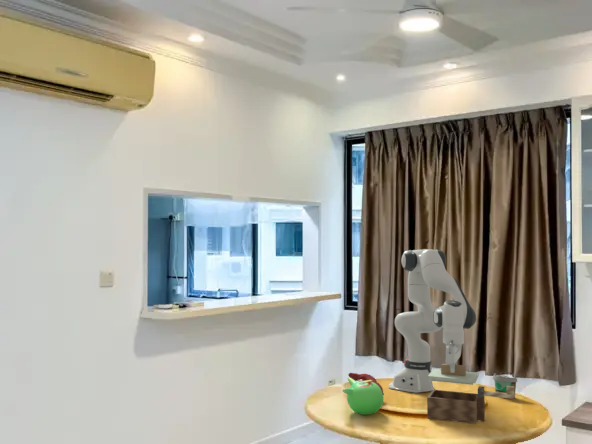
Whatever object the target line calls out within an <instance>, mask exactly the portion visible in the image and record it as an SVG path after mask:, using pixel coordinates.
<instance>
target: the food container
mask: <svg viewBox="0 0 592 444" xmlns="http://www.w3.org/2000/svg"><path fill="white" fill-rule="evenodd" d="M492 380H493V381H494V388H495V389H494V390H495V391H494V392H503V393H506V387H507V386H514V388H515V391H516V388H517V383H518V378H517V377H516V376H515V377H510V376H507V375H498V374H497V372H495V373H493V377H492ZM499 398H501V397H499Z"/></svg>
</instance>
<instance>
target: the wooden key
mask: <svg viewBox="0 0 592 444" xmlns="http://www.w3.org/2000/svg"><path fill="white" fill-rule="evenodd" d="M483 396H485V397H493V398H500V397H501V398H502V399H513V400H514V399H515V398H516V390H515V388H514V386H507V387H506V393H503V392H496V391H492V390H491V391H490V390H484V391H483Z"/></svg>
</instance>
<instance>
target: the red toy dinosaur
mask: <svg viewBox="0 0 592 444" xmlns="http://www.w3.org/2000/svg"><path fill="white" fill-rule="evenodd" d="M348 377H350V378H352V379H353V380H355V381H357V382H359V381H367V380H372V381H371V382H374V383H375V384H377V385H378V386H379V387H380V389H381V390H382V393H383V396H384V395H385V394H384V389H383V387H382V385H381V384H380V383H379V382H377V379H376V378H375V377H374V376H373V375H371V374H367V373H357V372H349V373H348Z"/></svg>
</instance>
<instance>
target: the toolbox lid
mask: <svg viewBox="0 0 592 444" xmlns="http://www.w3.org/2000/svg"><path fill="white" fill-rule="evenodd" d="M479 374H480V373H479V372H473V371H470V372H469V371H467V366H466V365H463V364H457V365H455V372H454V373H451V372H450V365H447V364H446V363H441V364H440V368H432V371H431V373H430V374H429V375H428V379H431V381H432V382H441V383H451V384H460V385H469V386H471V385H472V386H473V385H474V384H476V383H477V380H478V379H479V376H480V375H479Z"/></svg>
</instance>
